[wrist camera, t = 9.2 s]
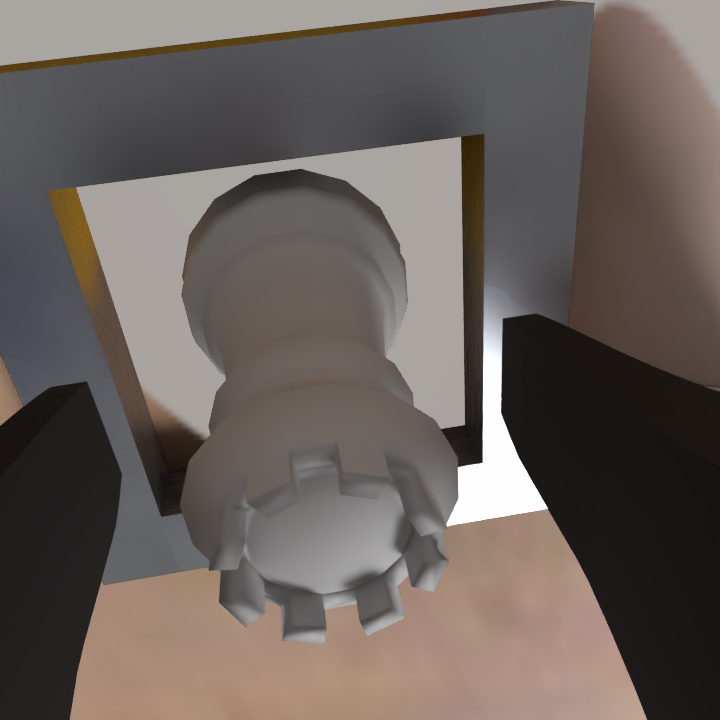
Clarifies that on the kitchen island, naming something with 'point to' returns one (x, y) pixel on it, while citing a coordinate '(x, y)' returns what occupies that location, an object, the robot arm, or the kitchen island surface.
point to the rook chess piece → (310, 410)
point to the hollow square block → (280, 142)
